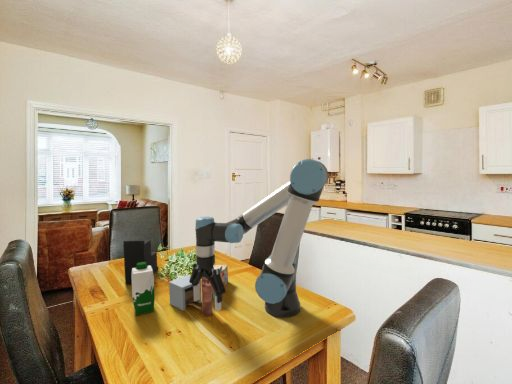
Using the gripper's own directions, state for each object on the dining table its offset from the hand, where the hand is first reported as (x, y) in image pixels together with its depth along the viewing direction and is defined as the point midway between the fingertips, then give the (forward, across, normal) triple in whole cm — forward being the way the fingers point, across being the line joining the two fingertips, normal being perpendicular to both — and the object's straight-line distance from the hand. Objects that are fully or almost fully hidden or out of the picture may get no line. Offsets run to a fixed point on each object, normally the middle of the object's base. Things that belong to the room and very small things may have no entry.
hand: (207, 304), depth 115 cm
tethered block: (+4, +8, 0) cm, 9 cm away
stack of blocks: (+4, +15, -18) cm, 24 cm away
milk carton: (+4, +24, +15) cm, 29 cm away
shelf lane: (+4, +15, 0) cm, 15 cm away
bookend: (+4, +62, -5) cm, 63 cm away
